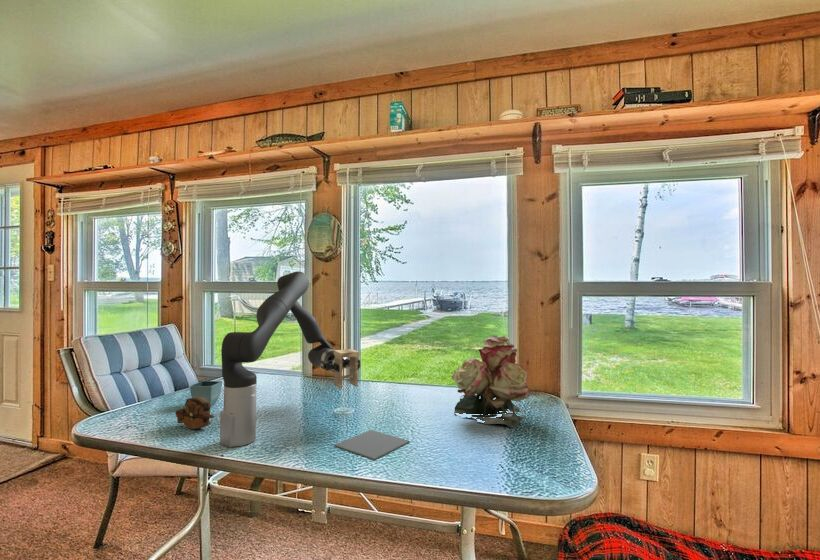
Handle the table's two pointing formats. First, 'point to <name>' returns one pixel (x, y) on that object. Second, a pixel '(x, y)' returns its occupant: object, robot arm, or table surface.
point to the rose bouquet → (492, 383)
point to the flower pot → (207, 390)
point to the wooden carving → (195, 413)
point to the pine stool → (353, 367)
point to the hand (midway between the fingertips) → (348, 367)
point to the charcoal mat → (372, 444)
